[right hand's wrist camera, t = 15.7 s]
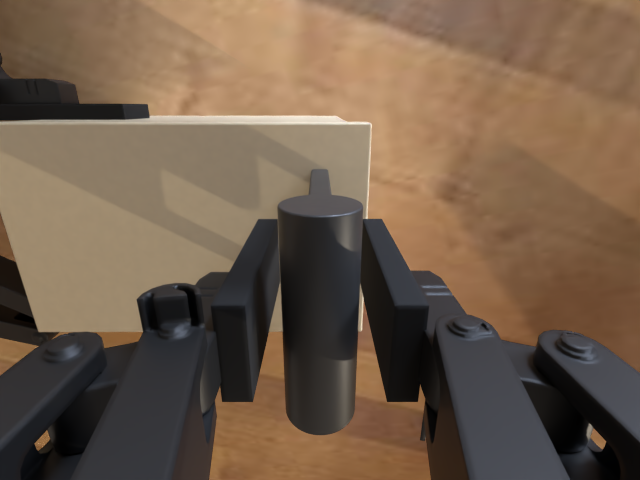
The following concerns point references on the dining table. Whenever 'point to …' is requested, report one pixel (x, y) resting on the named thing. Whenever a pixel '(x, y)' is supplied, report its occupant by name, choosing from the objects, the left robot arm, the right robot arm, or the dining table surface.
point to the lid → (196, 230)
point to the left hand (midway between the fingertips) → (152, 208)
